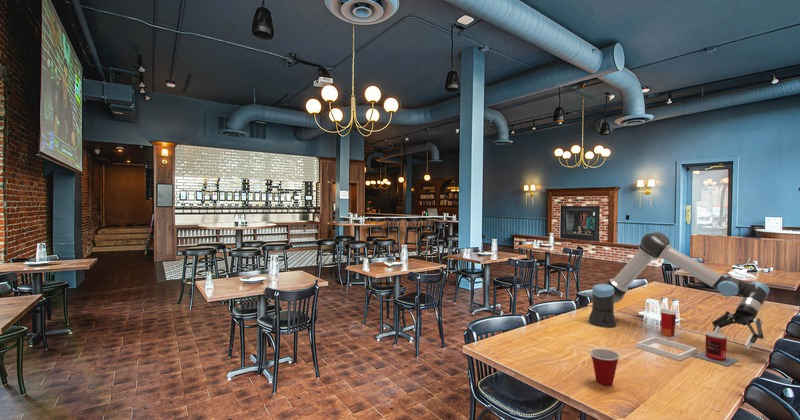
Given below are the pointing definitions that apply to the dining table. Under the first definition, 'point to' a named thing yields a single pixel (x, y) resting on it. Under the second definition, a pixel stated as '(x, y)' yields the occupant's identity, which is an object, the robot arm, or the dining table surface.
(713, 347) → the canned food
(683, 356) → the corral
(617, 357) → the plastic cup
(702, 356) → the mat
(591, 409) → the dining table surface
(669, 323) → the paper cup
